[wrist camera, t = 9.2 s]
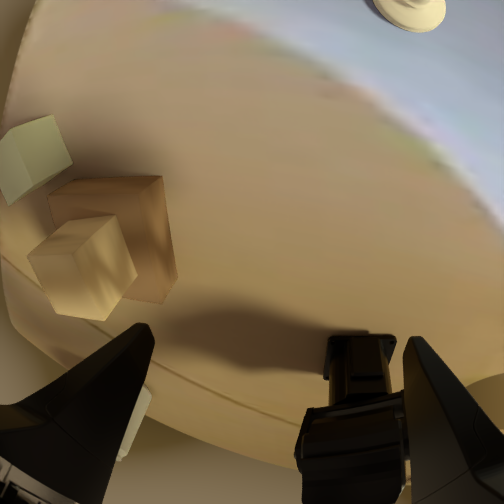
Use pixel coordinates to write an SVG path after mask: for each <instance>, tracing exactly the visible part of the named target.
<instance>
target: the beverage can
mask: <svg viewBox="0 0 504 504" xmlns="http://www.w3.org/2000/svg"><path fill="white" fill-rule="evenodd" d="M151 399H152V395H151V393H150V391H149V389H148V388H147V386H146V385H145V384H143V386H142V389H141V392H140V394H139V397H138V400H137V402H136V405H135V408H134V410H133V413H132V416H131V418H130V421H129V424H128V427H127V429H126V432H125V435H124V438H123V441H122V444H121V446H120V449H119V452H118V455H117V458H116V461H121V460H122V457H124V456H126V455H127V454H128V451H129V449H130V446H131V444H132V442H133V440H134V437H135V435H136V433H137V430H138V428H139V426H140V423H141V421H142V419H143V417H144V414H145V412H146V410H147V408H148V405H149V403H150V401H151Z"/></svg>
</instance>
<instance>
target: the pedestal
mask: <svg viewBox="0 0 504 504" xmlns="http://www.w3.org/2000/svg"><path fill="white" fill-rule="evenodd" d="M47 199H48V203H49V207H50V210H51V214H52V218H53V221H54V224H55V228H56V230H57V229H59V228H60V227H61V226H62V225H64V224H65V223H66V222H67V221H70V220H78V219H85V218H93V217H101V216H109V215H116V217H117V220H118V223H119V226H120V228H121V231H122V234H123V237H124V240H125V243H126V246H127V248H128V251H129V254H130V256H131V259H132V262H133V264H134V267H135V270H136V272H137V275H138V276H137V277H136V279H135V280H134V281H133V283H132V284H131V285H130V287H129V288H128V289H127V291H126V292H125V293H124V295H123V296H122V298H127V299H133V300H138V301H144V302H150V303H156V304H162V303H163V301H164V299H165V298H166V296H167V294H168V293H169V291H170V290H171V288H172V286H173V285H174V283H175V281H176V280H177V278H178V275H177V269H176V264H175V258H174V252H173V246H172V240H171V234H170V227H169V221H168V214H167V207H166V200H165V192H164V184H163V176H134V177H108V178H89V179H74V180H72V181H70V182H69V183H67V184H65V185H64V186H62V187H60V188H59V189H57V190H55V191H54V192H52V193H51V194H49V195H47Z"/></svg>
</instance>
